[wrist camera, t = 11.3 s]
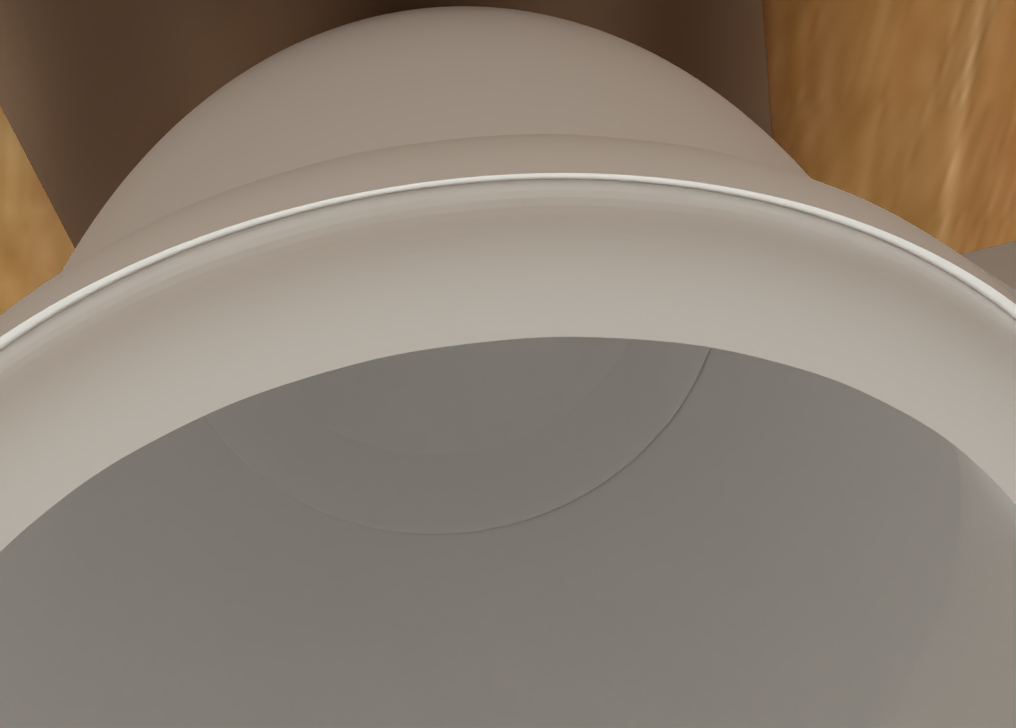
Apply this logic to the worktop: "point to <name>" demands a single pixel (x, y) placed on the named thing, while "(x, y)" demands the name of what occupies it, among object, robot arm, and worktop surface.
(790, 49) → the worktop surface
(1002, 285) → the robot arm
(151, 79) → the holder
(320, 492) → the jar
